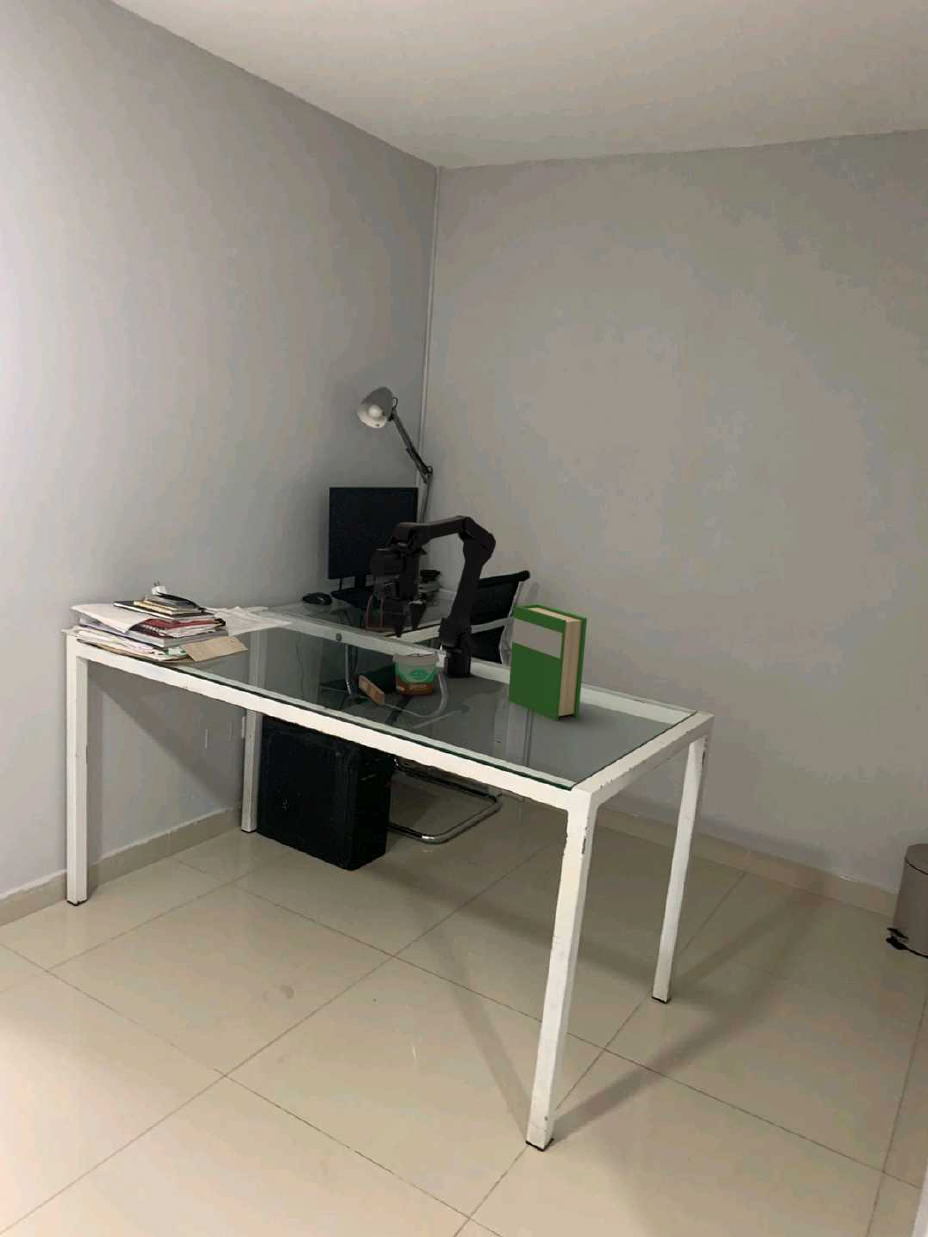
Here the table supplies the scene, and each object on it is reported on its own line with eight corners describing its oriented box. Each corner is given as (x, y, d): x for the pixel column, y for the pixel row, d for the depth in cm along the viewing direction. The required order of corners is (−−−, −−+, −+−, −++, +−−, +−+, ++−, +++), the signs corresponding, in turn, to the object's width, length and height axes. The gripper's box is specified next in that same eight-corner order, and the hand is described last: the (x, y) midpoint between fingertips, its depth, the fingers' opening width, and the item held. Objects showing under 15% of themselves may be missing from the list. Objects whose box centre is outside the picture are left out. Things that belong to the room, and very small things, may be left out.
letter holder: (399, 619, 318) (400, 578, 315) (396, 632, 298) (398, 589, 295) (369, 618, 317) (371, 577, 314) (365, 630, 298) (367, 587, 295)
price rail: (362, 687, 235) (363, 675, 235) (384, 705, 221) (384, 693, 220) (358, 687, 235) (358, 675, 234) (379, 706, 220) (379, 693, 220)
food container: (400, 698, 228) (402, 658, 225) (391, 691, 233) (392, 652, 231) (445, 694, 233) (448, 655, 231) (435, 687, 239) (437, 649, 236)
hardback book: (578, 716, 222) (587, 618, 217) (555, 720, 218) (563, 620, 213) (531, 696, 236) (538, 603, 231) (508, 700, 231) (514, 605, 226)
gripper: (395, 565, 244) (394, 622, 248) (362, 575, 228) (361, 637, 231) (434, 569, 240) (432, 628, 244) (403, 580, 224) (401, 643, 227)
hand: (406, 633), depth 237 cm, fingers open, 9 cm apart
